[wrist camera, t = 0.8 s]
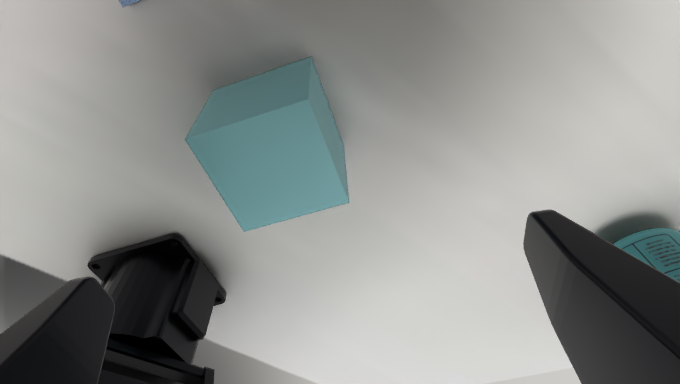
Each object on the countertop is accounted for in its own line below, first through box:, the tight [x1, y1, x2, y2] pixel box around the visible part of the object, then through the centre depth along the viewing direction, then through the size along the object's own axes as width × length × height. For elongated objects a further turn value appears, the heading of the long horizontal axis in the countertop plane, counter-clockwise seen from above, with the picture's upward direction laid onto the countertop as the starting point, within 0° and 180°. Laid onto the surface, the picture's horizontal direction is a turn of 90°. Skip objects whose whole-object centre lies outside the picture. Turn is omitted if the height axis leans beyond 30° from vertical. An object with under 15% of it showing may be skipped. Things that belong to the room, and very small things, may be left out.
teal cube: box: [185, 57, 349, 232], centre depth 18 cm, size 5×5×5 cm
